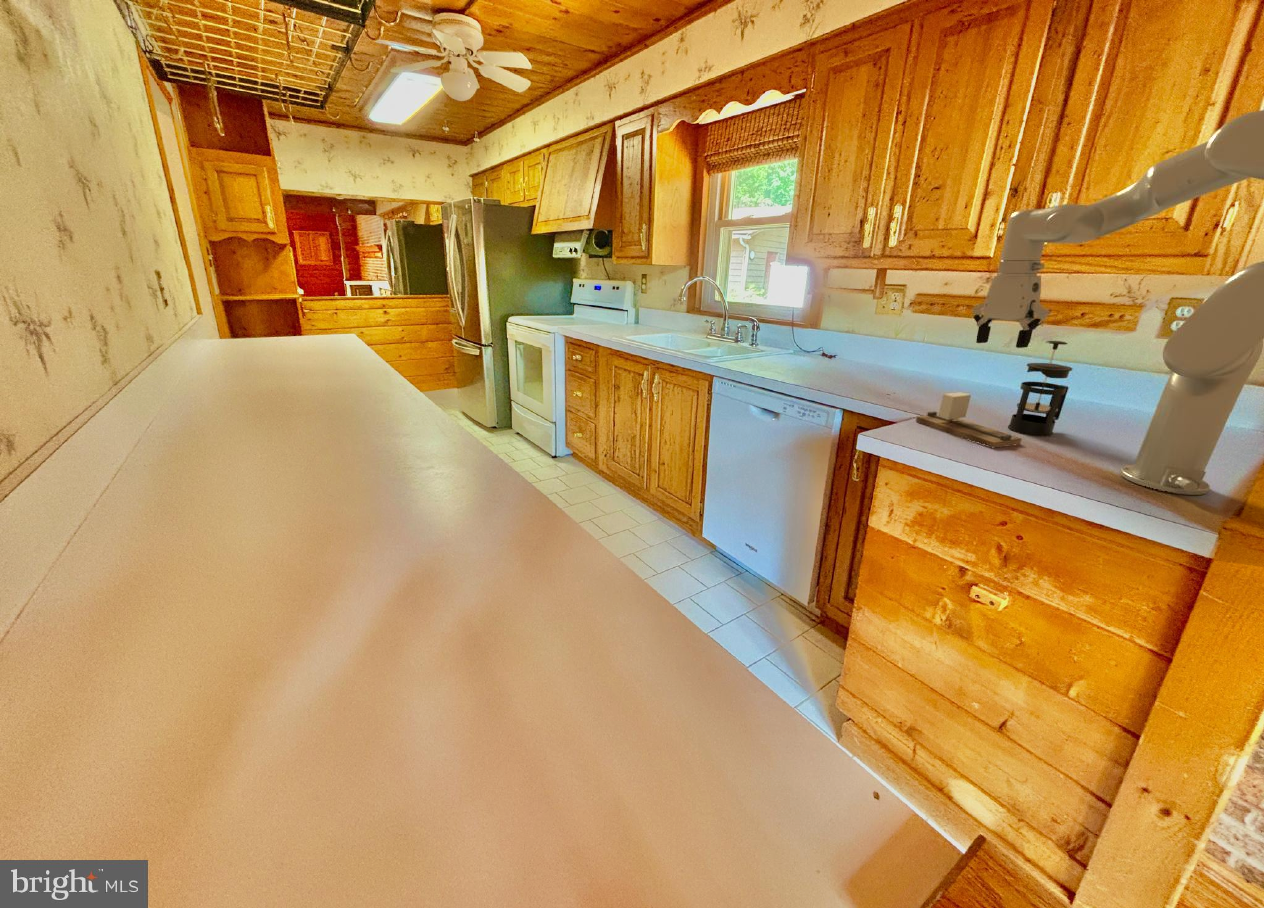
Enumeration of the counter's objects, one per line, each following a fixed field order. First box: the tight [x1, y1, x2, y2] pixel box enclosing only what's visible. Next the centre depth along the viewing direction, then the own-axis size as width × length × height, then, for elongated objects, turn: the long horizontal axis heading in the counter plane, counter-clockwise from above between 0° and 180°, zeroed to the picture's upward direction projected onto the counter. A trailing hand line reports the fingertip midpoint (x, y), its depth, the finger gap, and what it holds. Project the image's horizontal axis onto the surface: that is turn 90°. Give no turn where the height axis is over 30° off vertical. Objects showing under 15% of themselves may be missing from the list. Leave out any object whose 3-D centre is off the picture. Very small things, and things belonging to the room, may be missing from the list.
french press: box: [1007, 340, 1073, 438], centre depth 126 cm, size 12×9×23 cm
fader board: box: [915, 411, 1022, 448], centre depth 129 cm, size 22×9×2 cm, turn 19°
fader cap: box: [938, 391, 971, 420], centre depth 131 cm, size 3×6×7 cm, turn 109°
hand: (1000, 345), depth 121 cm, fingers open, 9 cm apart
